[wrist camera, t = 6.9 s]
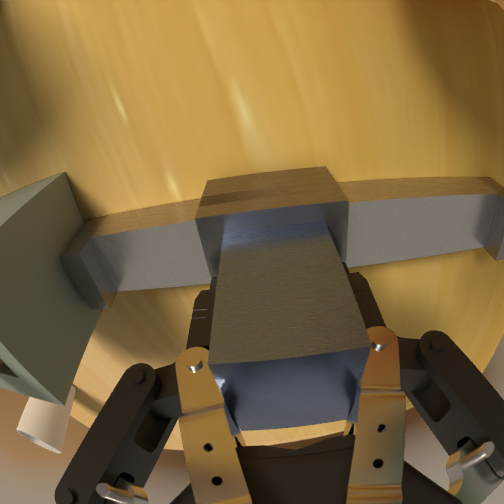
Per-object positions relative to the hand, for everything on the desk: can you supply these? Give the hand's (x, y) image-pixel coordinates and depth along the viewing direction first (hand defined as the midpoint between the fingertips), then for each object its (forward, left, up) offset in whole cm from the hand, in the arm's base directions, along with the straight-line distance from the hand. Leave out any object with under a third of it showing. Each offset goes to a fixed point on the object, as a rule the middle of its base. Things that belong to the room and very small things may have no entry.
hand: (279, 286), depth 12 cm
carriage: (0, 0, -6) cm, 6 cm away
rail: (0, +2, -6) cm, 6 cm away
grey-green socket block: (-1, -16, -6) cm, 17 cm away
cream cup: (+20, -31, -6) cm, 37 cm away
